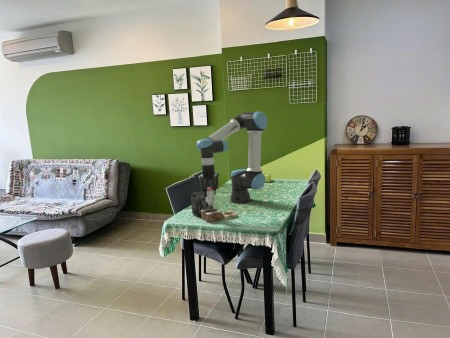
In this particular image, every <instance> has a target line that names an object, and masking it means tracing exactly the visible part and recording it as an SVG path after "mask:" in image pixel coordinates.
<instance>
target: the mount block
mask: <svg viewBox="0 0 450 338" xmlns="http://www.w3.org/2000/svg"><path fill="white" fill-rule="evenodd" d="M238 217H239V213H237V212H236V211H234V210H232V209H231V210H227V211H222V219H224V220H230V219H234V218H235V219H236V218H238Z"/></svg>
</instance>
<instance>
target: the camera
mask: <svg viewBox="0 0 450 338" xmlns="http://www.w3.org/2000/svg"><path fill="white" fill-rule="evenodd" d="M190 196H191V197H190V203H191V204H190V205H191V213H192V215H193V216H196V217H201V210H204V209H208V202H206V197H205V196H204V192H203V191H201V190H200V191H195V192H192V193H190Z"/></svg>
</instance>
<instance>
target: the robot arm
mask: <svg viewBox="0 0 450 338" xmlns="http://www.w3.org/2000/svg"><path fill="white" fill-rule="evenodd" d="M267 126H268V117H267V116H266V114H265V113H264V112H262V111H245V112H242V113H239V114H238V115H236V116H234V117H232V118H231V119H230V120H229V122H228V123H226V124H225V125H223V126H222V127H221V128H219V129H217V130H216V131H215V132H213V133H211V134H210V135H209V136H207V137H206V138H202V139H199V140H197V141H196V145H195V146H196V150H197V151H199V152H200V155H201V156H200V157H201V158H200V159H201V171H202V172H201V174H200V175H198V179H199V185H200V191H202V192H204V196H205V197H206V202H209V196H208V192H207V188H208V186H209V184H208V183H209V181H210V184H211V186H210V187H212V189H213V202H216V197H215V196H216V195H217V194H216V193H217V192H216V191H217V190H218V189H219V175H220V173H218V172H216V171H215V164H214V163H215V159H214V156H215V155H214V154H217V153H223V152H226V151H228V149H229V148H228V147H229V145H228V142H227V140H225V139H227V138H228V137H229V136H231V135H232V134H234V133H235V132H239V131H241V130H243V129H244V130H246V132H247V133H248V153H247V155H248V157H247V158H248V160H247V168H241V169H235V170H232V171H231V175H230V179H231V180H230V181H231V194H230V203H233V204H245V203H249V202H250V201H251V195H250V193H249V192H250V191H249V189H250V190H261V189H263V187H264V186H265V183H266V176H265V174H264V173H263V170H262V168H261V157H262V155H261V152H262V151H261V149H262V134H263V132H264V130H265V129H266V128H267ZM203 178H204V179H203Z"/></svg>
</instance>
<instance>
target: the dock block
mask: <svg viewBox="0 0 450 338" xmlns="http://www.w3.org/2000/svg"><path fill="white" fill-rule="evenodd" d="M222 212H223V210H221V209H217V207H216V206H215V207H214V208H213V209H204V210H201V216H200V217H201V220H202V221H204V220H205V221H204V222H206V223H208V224H209V223H214V222H217V221H222V220H223V218H222Z"/></svg>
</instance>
